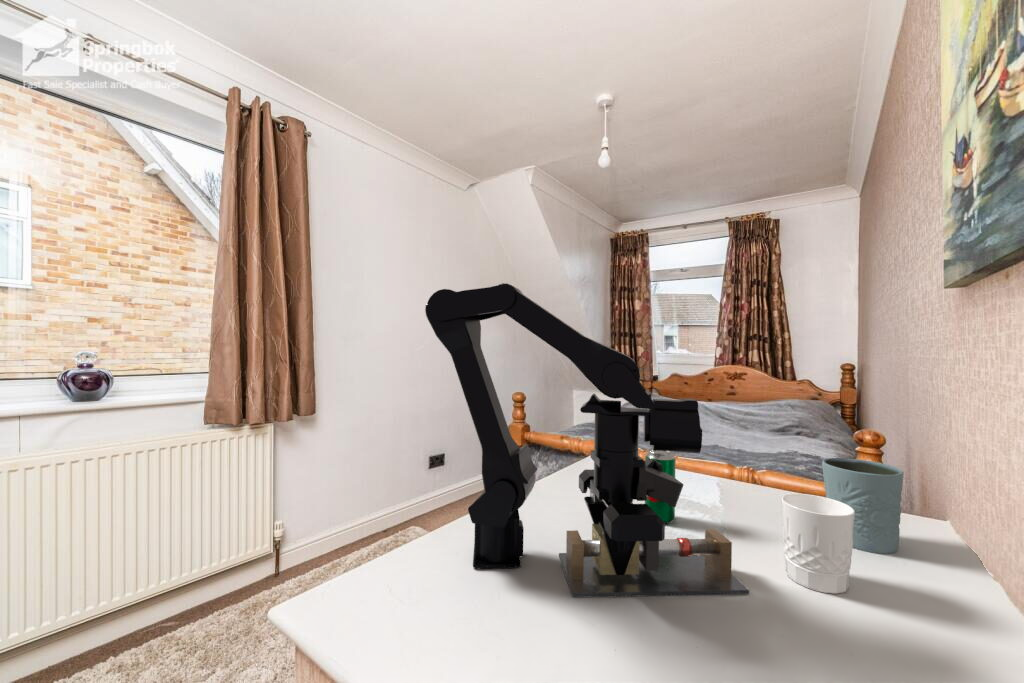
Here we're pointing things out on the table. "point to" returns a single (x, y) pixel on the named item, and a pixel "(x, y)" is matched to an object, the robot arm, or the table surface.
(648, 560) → the dark grey square collar
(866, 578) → the table surface
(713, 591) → the pipe rig
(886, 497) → the drinking glass
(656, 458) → the soda can
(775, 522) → the table surface
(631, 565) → the sleeve
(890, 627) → the table surface
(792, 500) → the white cup
